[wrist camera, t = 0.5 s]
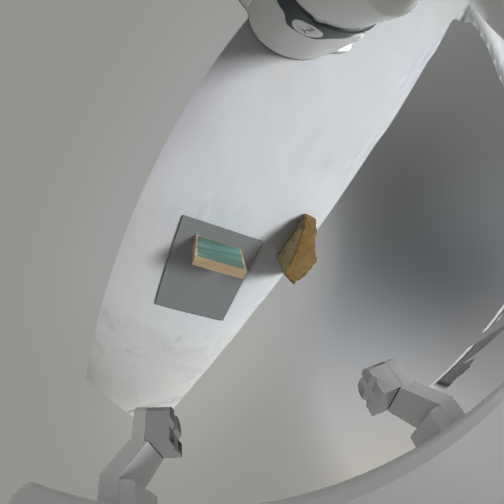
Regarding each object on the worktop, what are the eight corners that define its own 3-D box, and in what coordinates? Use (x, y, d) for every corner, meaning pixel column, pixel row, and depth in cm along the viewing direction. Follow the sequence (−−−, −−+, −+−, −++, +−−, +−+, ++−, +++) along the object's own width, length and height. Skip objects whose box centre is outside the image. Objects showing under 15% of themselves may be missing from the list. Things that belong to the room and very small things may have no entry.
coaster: (196, 233, 43) (195, 256, 37) (241, 248, 46) (247, 271, 40) (193, 241, 44) (192, 264, 38) (237, 255, 47) (243, 279, 41)
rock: (305, 201, 41) (257, 243, 42) (343, 239, 38) (292, 284, 39) (313, 225, 51) (274, 259, 52) (343, 257, 48) (302, 293, 49)
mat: (183, 215, 42) (183, 216, 41) (262, 241, 46) (262, 242, 46) (155, 302, 49) (155, 303, 49) (222, 319, 54) (222, 320, 54)
